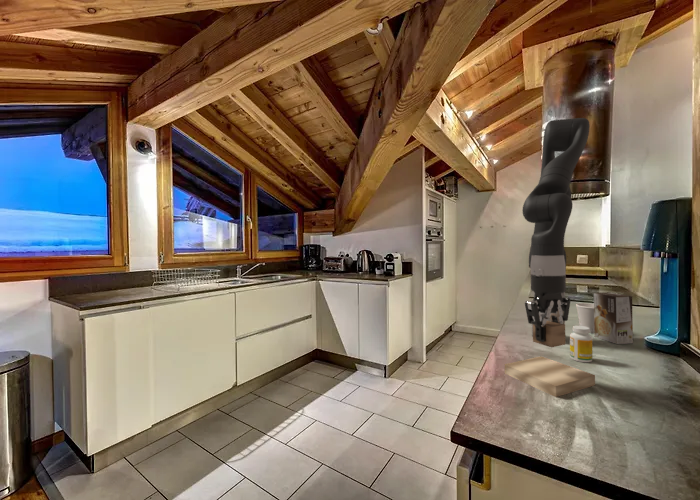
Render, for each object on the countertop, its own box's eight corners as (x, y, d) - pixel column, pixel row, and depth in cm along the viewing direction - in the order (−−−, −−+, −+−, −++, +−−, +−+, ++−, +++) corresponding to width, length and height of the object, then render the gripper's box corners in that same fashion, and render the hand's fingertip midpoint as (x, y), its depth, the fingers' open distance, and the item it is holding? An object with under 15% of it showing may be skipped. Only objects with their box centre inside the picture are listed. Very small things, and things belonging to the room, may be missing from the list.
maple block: (504, 375, 84) (504, 364, 83) (541, 366, 89) (540, 356, 89) (555, 399, 71) (555, 386, 70) (595, 387, 76) (595, 375, 76)
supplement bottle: (566, 358, 93) (565, 326, 93) (576, 354, 95) (576, 323, 95) (586, 364, 88) (585, 330, 88) (596, 360, 91) (596, 328, 90)
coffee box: (634, 343, 104) (634, 296, 104) (616, 344, 104) (616, 296, 103) (609, 335, 113) (609, 291, 113) (593, 336, 113) (592, 292, 112)
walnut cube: (532, 341, 81) (532, 322, 80) (546, 339, 82) (546, 320, 82) (551, 347, 76) (551, 327, 76) (565, 344, 78) (565, 324, 78)
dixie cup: (609, 334, 115) (609, 307, 115) (586, 334, 115) (586, 307, 115) (592, 327, 123) (591, 302, 123) (570, 328, 124) (570, 303, 123)
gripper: (552, 270, 85) (553, 332, 85) (514, 273, 80) (515, 339, 80) (581, 272, 78) (582, 339, 78) (541, 275, 73) (542, 348, 73)
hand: (548, 339), depth 79 cm, fingers closed on walnut cube, 5 cm apart
